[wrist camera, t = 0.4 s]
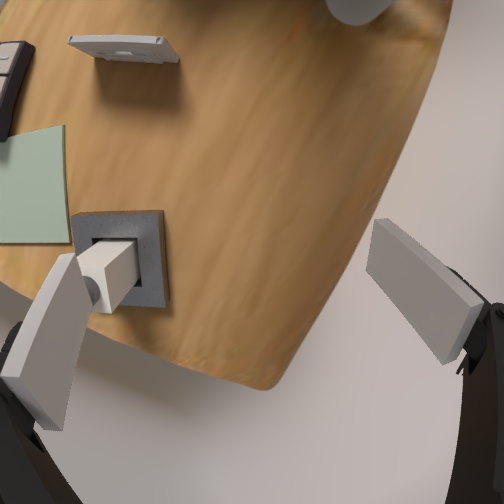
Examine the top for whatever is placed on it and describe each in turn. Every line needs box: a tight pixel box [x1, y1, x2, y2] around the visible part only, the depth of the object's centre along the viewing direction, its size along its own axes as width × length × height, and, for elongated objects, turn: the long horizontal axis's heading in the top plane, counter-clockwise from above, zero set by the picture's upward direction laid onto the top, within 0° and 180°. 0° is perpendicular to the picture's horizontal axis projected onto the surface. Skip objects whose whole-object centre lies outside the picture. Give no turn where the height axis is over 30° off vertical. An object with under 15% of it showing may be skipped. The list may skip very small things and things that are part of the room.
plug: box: [77, 238, 141, 314], centre depth 33 cm, size 5×5×14 cm
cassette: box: [67, 35, 179, 64], centre depth 28 cm, size 12×2×8 cm, turn 76°
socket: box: [71, 210, 170, 308], centre depth 38 cm, size 12×12×2 cm
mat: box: [0, 125, 71, 243], centre depth 36 cm, size 16×16×1 cm
